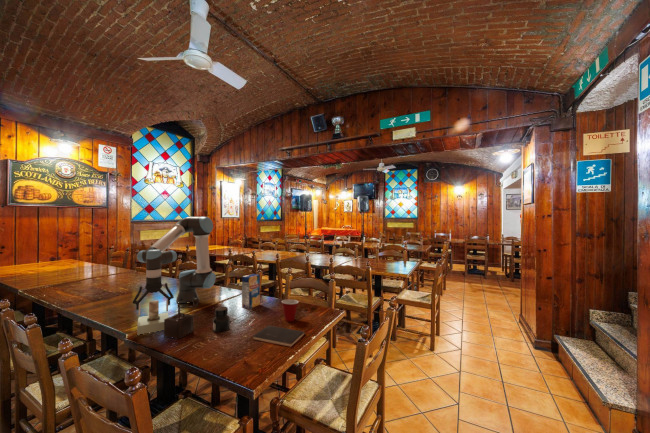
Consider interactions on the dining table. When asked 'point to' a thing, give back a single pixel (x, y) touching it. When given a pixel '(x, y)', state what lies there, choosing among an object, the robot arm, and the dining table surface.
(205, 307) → the dining table surface
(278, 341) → the hardcover book
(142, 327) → the board
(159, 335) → the dining table surface
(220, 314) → the ink bottle
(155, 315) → the peg
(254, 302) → the blue yellow cereal box
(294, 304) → the plastic cup
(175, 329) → the dark boxy piece
